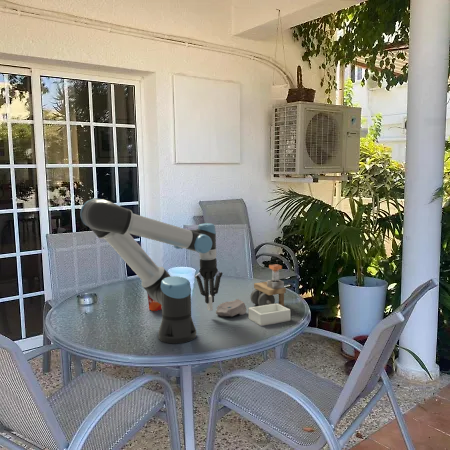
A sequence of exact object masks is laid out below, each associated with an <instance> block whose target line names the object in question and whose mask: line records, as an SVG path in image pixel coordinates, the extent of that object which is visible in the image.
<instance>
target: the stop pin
mask: <svg viewBox="0 0 450 450" xmlns="http://www.w3.org/2000/svg"><path fill="white" fill-rule="evenodd" d="M268 269H270V270H271V280H272V282H279V280H280V270H283V265H280V264H278V263H277V264H276V263H275V264H268Z"/></svg>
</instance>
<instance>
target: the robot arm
mask: <svg viewBox="0 0 450 450" xmlns="http://www.w3.org/2000/svg"><path fill="white" fill-rule="evenodd" d="M79 214H80V219H81V222H82V223H83V225H85V226H87V227H88V228H89V229H90V230H91V231H92V233H94V234H95V236H96V237H97V238H99V239H100V240H105V241H106V242H107V243H108V244H109V246H111V247H112V249H113V250H114V251H115V252H116V253H117V254H118V255H119V257H121V259H122V260H123V261H124V262H125V263H126V265H127V266H129V268H131V270H132V271H133V272H134V273H135V274H136V276H137V277H138V278H139V279H140V280H141V287H142V288H143V289H144V290H145V291H146V293H148V294H147V296H148V295H149V296H150V297H151V298H152V299H153V300H155V301H157V302H158V303H160V304H161V305H162V309H161V321H160V326H159V329H158V336H157V337H158V340H160V342H162V343H167V344H184V343H187V342H190V341H192V340H194V339H196V338H197V328H196V326H195V323H194V321H193V317H192V286H191V282H190V280H189V279H188V278H186V277H183V276H177V275H176V276H175V275H174V276H173V275H172V276H171V274H169V272H168V271H167V270H166V269H165V268H164V267H163V266H158V265H157V264H156V263H155V262H154V261H153V259H152V258H151V257H150V256H149V254H148V253H147V252H146V251H145V250H144V249H143V248H142V246H141V245H140V244H139V243H138V242H137V241H136V240H135V238H134V237H133V236H138V237H141V238H143V239H144V238H145V239H149V240H153V241H155V242H159V243H163V244H167V245H169V246H170V245H171V246H173V247H174V248H175V249H176V250H183V249H185V250H189V251H192V252H196V253H199V271H198V273H197V274H194V278H195V279H196V281H197V285H198V289H199V292H200V295H201V296H203V297H204V301H205V304H206V308H207V310H208V311H210V312H211V311H213V307H214V306H213V303H215V296H216V295H217V294H218V293H219V287H220V284H221V278H222V276H223V274H224V273H223V272H221V271H219V270H218V265H217V264H218V263H217V261H218V260H217V235H216V234H217V233H216V232H217V231H216V225H215V224H214V223H210V222H209V223H208V222H207V223H200V224H198V227H197V228H196V229H186V228H184V227H180V226H177V225H173V224H169V223H166V222H164V221H160V220H157V219H153V218H149V217H145V216H143V215H139V214H136V213H133V211H132V210H131V209H129V208H125V207H123V206H120V205H118V204H116V203H115V202H112V201H110V200H107V199H102V198H98V197H95V198H91V199H89V200H87V201H85V202H84V203H83V205H82V206H81V208H80V213H79ZM132 235H133V236H132ZM201 278H202V279H203V282H202V279H201Z"/></svg>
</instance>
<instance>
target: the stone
mask: <svg viewBox="0 0 450 450" xmlns="http://www.w3.org/2000/svg"><path fill="white" fill-rule="evenodd" d="M246 313H247V306H246V304H245V302H244V301H242V300H241V299H239V298H236V299H235V300H232V301H225V302H222V303H219V304H218V306H216V310H215V314H217V316H220V317H234V316H237V315H241V316H242V315H245V314H246Z"/></svg>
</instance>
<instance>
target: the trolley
mask: <svg viewBox="0 0 450 450" xmlns="http://www.w3.org/2000/svg"><path fill="white" fill-rule="evenodd" d="M286 290H287V288H286V287H285V281H283V280H281V279H279V282H272V279H267V280H266V281H261V282H255V283H253V291H251V293H250V301H251V303H252V304H253V305H255V306H256V307H257V306H263V305H269V304H276V298H275V296H276V295H278V304H280V305H282V306H284V307H285V294H286V292H287V291H286Z"/></svg>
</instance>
